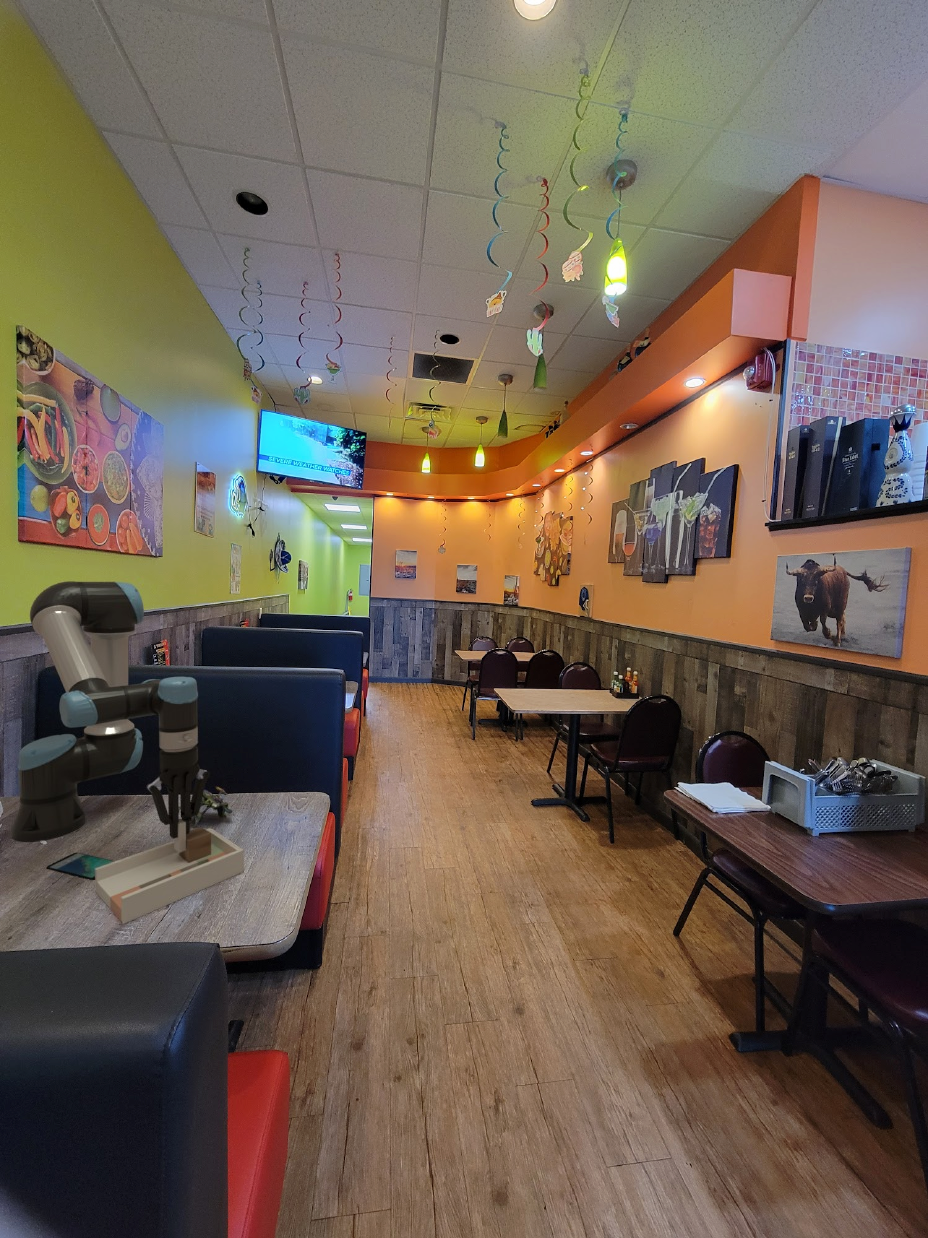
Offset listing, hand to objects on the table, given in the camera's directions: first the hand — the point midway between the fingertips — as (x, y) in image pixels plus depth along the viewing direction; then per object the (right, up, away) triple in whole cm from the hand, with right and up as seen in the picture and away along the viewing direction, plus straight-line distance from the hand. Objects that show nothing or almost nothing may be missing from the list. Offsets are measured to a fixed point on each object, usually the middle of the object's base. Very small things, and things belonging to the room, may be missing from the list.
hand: (180, 849), depth 116 cm
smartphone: (-23, -5, +1) cm, 23 cm away
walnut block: (+2, -2, +3) cm, 4 cm away
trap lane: (0, -5, -4) cm, 6 cm away
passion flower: (-6, -4, +24) cm, 25 cm away
